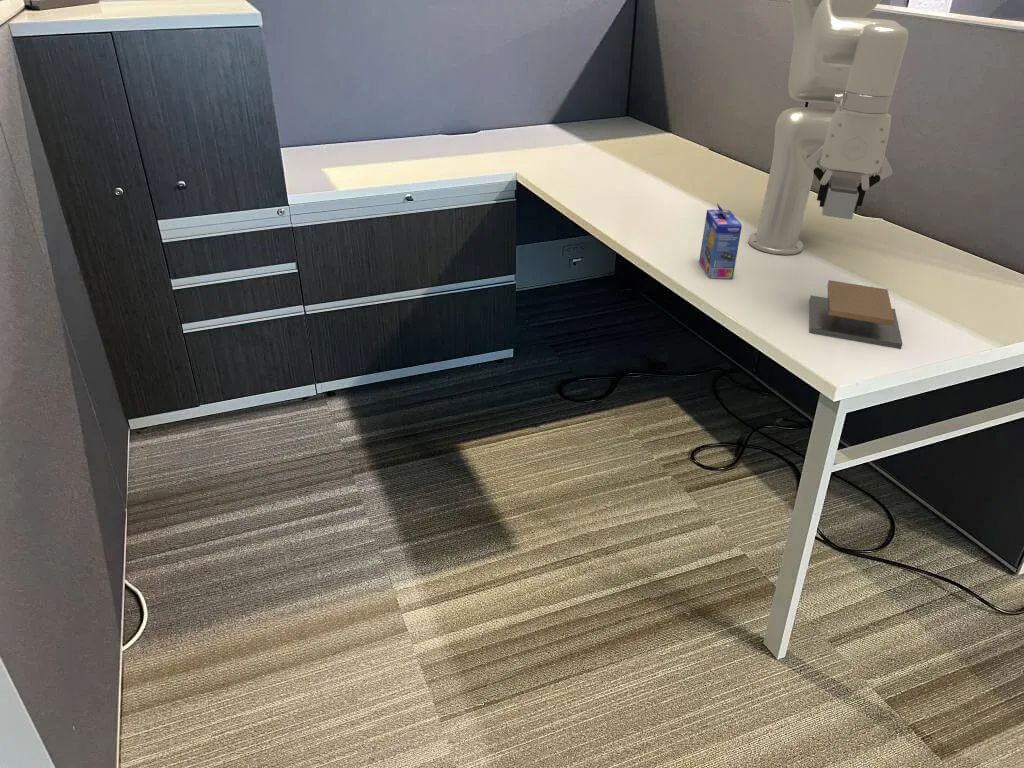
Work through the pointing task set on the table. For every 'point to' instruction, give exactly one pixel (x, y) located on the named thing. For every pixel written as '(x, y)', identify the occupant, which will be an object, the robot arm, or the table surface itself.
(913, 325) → the table surface
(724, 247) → the ink cartridge box
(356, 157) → the table surface
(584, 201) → the table surface
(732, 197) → the table surface
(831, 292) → the cardboard on grey plate
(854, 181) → the block
